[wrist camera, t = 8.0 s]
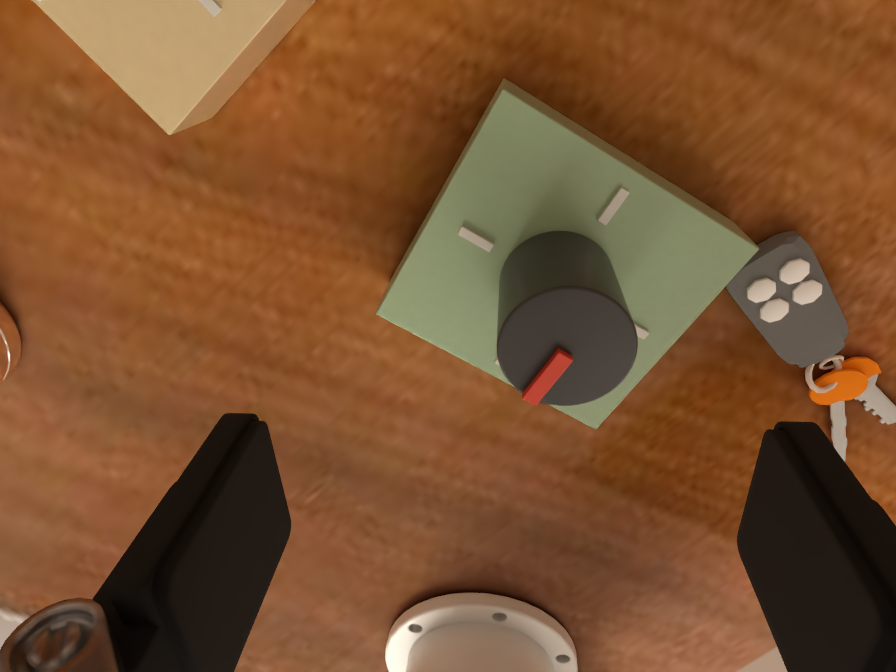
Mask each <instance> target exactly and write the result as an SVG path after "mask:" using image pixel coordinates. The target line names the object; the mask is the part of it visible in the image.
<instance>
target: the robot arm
mask: <svg viewBox="0 0 896 672" xmlns="http://www.w3.org/2000/svg"><path fill="white" fill-rule="evenodd" d="M290 531H291V518H290V514H289V510H288V506H287V502H286V498H285V494H284V490H283V486H282V482H281V478H280V474H279V470H278V466H277V462H276V458H275V454H274V450H273V446H272V442H271V438H270V434H269V430H268V426H267V424H266V422H264V421H259V418H258V417H257V415H256V414H245V413H227V414H224V415H223V416H222V417H221V418H220V420H219V421H218V423H217V424H216V426H215V427H214V429H213V430H212V431H211V433H210V434H209V436H208V437H207V439H206V440H205V442H204V443H203V444H202V446H201V447H200V449H199V450H198V452H197V453H196V455H195V456H194V457H193V459H192V460H191V462H190V463H189V465H188V466H187V468H186V469H185V470H184V472H183V473H182V475H181V476H180V478H179V479H178V481H177V482H175V483H174V484H173V485H172V486H171V488H170V489H169V490H168V492H167V493H166V494H165V496H164V497H163V499H162V500H161V502H160V503H159V505H158V506H157V507H156V509H155V510H154V512H153V513H152V515H151V516H150V517H149V519H148V520H147V522H146V523H145V525H144V526H143V528H142V529H141V530H140V532H139V533H138V535H137V536H136V538H135V539H134V540H133V542H132V543H131V545H130V546H129V548H128V549H127V550H126V552H125V553H124V555H123V556H122V558H121V559H120V561H119V562H118V563H117V565H116V566H115V568H114V569H113V571H112V572H111V573H110V575H109V576H108V578H107V579H106V581H105V582H104V584H103V585H102V586H101V588H100V589H99V591H98V592H97V594H96V595H95V596H94V598H93V599H85V598H74V599H67V600H63V601H60V602H57V603H54V604H52V605H49V606H47V607H45V608H43V609H42V610H40V611H38V612H36V613H35V614H33V615H31V616H30V617H29V618H28V619H26V620H25V621H24V622H23V623H22V624H20V625H19V626H18V627H17V628H16V629H15V630H14V631H13V632H12V634H11V635H10V636H9V637H8V638H7V639H6V640H5V642H4V644H3V646H2V647H1V649H0V672H234V670H235V667H236V665H237V663H238V660H239V658H240V655H241V653H242V650H243V648H244V646H245V643H246V641H247V638H248V636H249V633H250V631H251V629H252V626H253V624H254V621H255V619H256V616H257V614H258V612H259V609H260V607H261V604H262V602H263V599H264V597H265V595H266V592H267V590H268V587H269V585H270V582H271V580H272V578H273V575H274V573H275V570H276V568H277V565H278V563H279V561H280V558H281V556H282V553H283V551H284V548H285V546H286V544H287V541H288V539H289V536H290ZM737 544H738V550H739V554H740V557H741V559H742V562H743V564H744V567H745V569H746V571H747V574H748V576H749V579H750V581H751V584H752V586H753V588H754V591H755V593H756V596H757V598H758V601H759V603H760V605H761V608H762V610H763V613H764V615H765V618H766V620H767V622H768V625H769V627H770V630H771V632H772V635H773V637H774V640H775V642H776V644H777V647H778V649H779V652H780V654H781V656H782V659H783V661H784V664H785V666H786V669H787V671H788V672H896V526H895V524H894V523H893V522H892V520H891V519H890V518H889V516H888V515H887V514H886V512H885V511H884V509H883V508H882V507H881V506H880V505H879V504H878V503H877V502H876V501H874V500H872V499H871V498H870V496H869V495H868V494H867V492H866V491H865V489H864V488H863V487H862V485H861V484H860V482H859V481H858V480H857V478H856V477H855V476H854V474H853V473H852V471H851V470H850V469H849V467H848V466H847V464H846V463H845V462H844V460H843V459H842V457H841V456H840V455H839V453H838V452H837V451H836V449H835V448H834V446H833V445H832V444H831V442H830V441H829V439H828V438H827V437H826V435H825V434H824V432H823V431H822V430H821V428H820V427H819V426H818V425H817V424H816V423H814V422H778V423H777V424H776V425H775V427H774V430H773V429H769V430H766V432H765V433H764V436H763V439H762V443H761V447H760V451H759V455H758V458H757V462H756V466H755V470H754V474H753V477H752V481H751V485H750V489H749V493H748V496H747V500H746V504H745V508H744V512H743V515H742V519H741V523H740V527H739V531H738V536H737ZM385 660H386V664H387V668H388V671H389V672H577V671H578V667H577V656H576V650H575V647H574V643H573V641H572V639H571V637H570V636H569V634H568V633H567V631H566V630H565V629H564V628H563V627H562V626H561V625H560V624H559V623H558V622H557V621H556V620H555V619H554V618H552V617H551V616H549V615H548V614H546V613H545V612H543V611H542V610H540V609H538V608H536V607H534V606H532V605H530V604H528V603H525V602H523V601H519V600H516V599H513V598H510V597H506V596H500V595H495V594H489V593H471V592H468V593H455V594H448V595H443V596H439V597H434V598H431V599H429V600H426V601H423V602H421V603H418V604H416V605H415V606H413V607H412V608H410V609H408V610H407V611H405V612H404V613H403V614H402V615H401V616H400V617H399V618H398V619H397V620H396V621H395V623H394V624H393V626H392V628H391V629H390V632H389V636H388V640H387V644H386V652H385Z"/></svg>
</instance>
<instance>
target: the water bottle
mask: <svg viewBox="0 0 896 672" xmlns="http://www.w3.org/2000/svg"><path fill="white" fill-rule="evenodd" d="M20 356H21V339H20V334H19V331H18V329H17V326H16V324H15V322H14V320H13V318H12V317H11V315H10V314H9V312H8V311H7V310H6V308H5V307H4V306H3V305H2V304H1V303H0V384H1V383H2V382H3V381H4V380H5V379H6V378H7V377H8V376H9V375H10V374H11V373H12V372H13V371H14V369H15V368H16V366H17V364H18V362H19V360H20Z"/></svg>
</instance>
